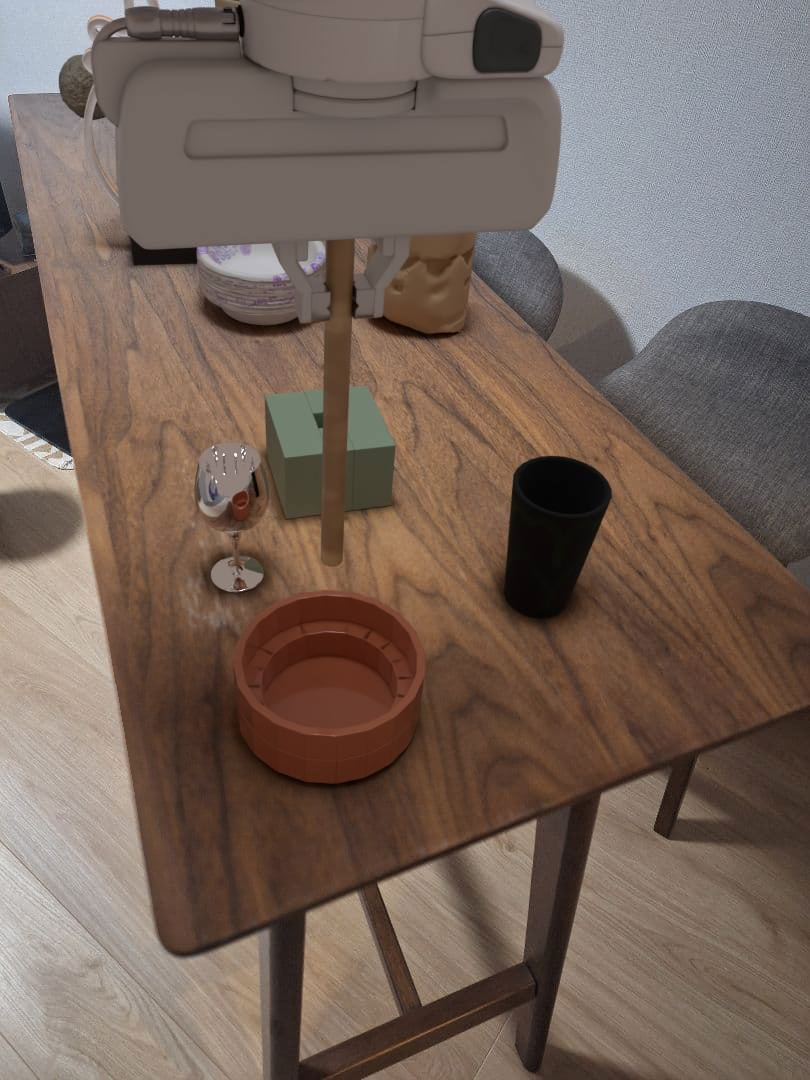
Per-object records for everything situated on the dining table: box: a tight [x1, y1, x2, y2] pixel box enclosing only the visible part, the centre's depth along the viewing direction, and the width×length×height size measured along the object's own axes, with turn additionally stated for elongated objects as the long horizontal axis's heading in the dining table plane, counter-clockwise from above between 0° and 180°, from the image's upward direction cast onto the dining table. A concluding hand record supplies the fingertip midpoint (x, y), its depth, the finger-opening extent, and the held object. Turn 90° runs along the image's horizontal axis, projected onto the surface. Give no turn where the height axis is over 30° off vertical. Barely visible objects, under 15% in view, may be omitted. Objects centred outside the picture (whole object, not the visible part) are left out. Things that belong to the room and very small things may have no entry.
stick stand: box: [264, 385, 397, 520], centre depth 86 cm, size 10×10×7 cm
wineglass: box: [193, 441, 270, 593], centre depth 73 cm, size 6×6×12 cm
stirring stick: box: [320, 239, 356, 568], centre depth 51 cm, size 1×1×22 cm
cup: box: [503, 455, 613, 619], centre depth 74 cm, size 8×8×12 cm
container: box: [366, 233, 478, 335], centre depth 108 cm, size 13×13×18 cm
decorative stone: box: [58, 54, 106, 121], centre depth 155 cm, size 10×8×10 cm
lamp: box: [82, 0, 197, 266], centre depth 112 cm, size 17×9×32 cm, turn 103°
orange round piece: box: [232, 589, 426, 784], centre depth 65 cm, size 13×13×6 cm
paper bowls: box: [196, 241, 326, 326], centre depth 110 cm, size 15×15×8 cm
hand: (339, 315), depth 47 cm, fingers closed on stirring stick, 1 cm apart
